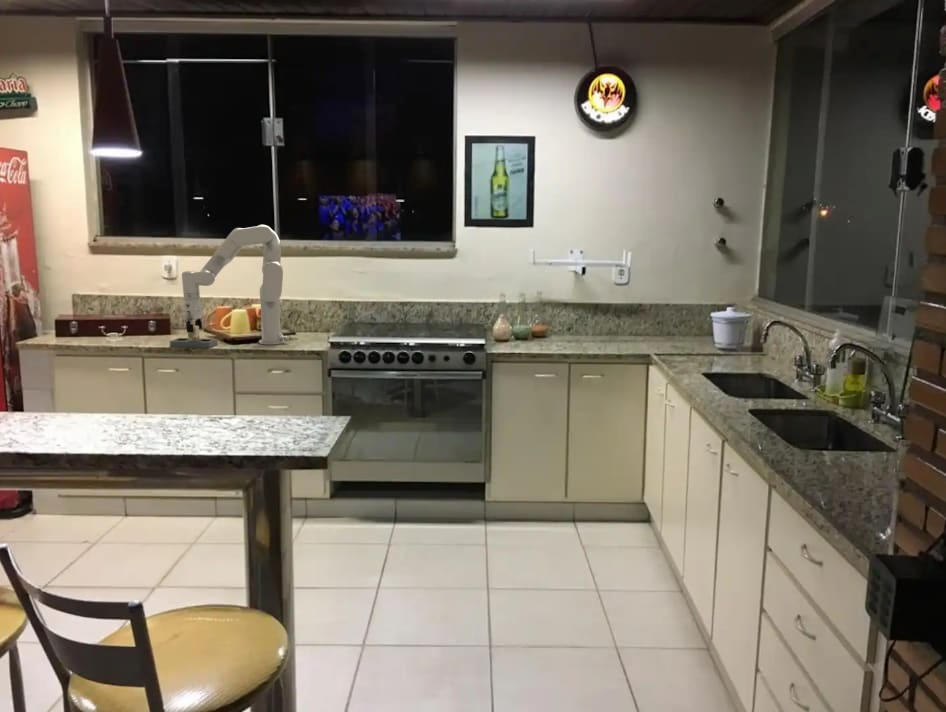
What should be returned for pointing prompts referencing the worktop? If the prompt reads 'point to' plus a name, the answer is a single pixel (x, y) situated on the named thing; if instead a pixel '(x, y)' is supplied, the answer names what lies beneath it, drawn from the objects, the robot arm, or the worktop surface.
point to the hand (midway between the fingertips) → (194, 330)
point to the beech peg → (194, 334)
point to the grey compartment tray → (193, 343)
